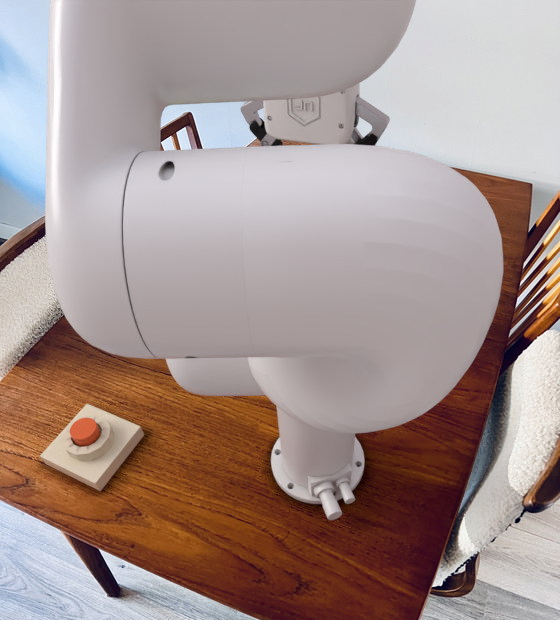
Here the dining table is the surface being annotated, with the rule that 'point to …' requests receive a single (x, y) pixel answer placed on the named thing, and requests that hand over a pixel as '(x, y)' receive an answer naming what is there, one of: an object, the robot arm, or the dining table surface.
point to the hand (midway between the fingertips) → (313, 180)
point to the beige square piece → (94, 448)
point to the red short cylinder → (85, 431)
